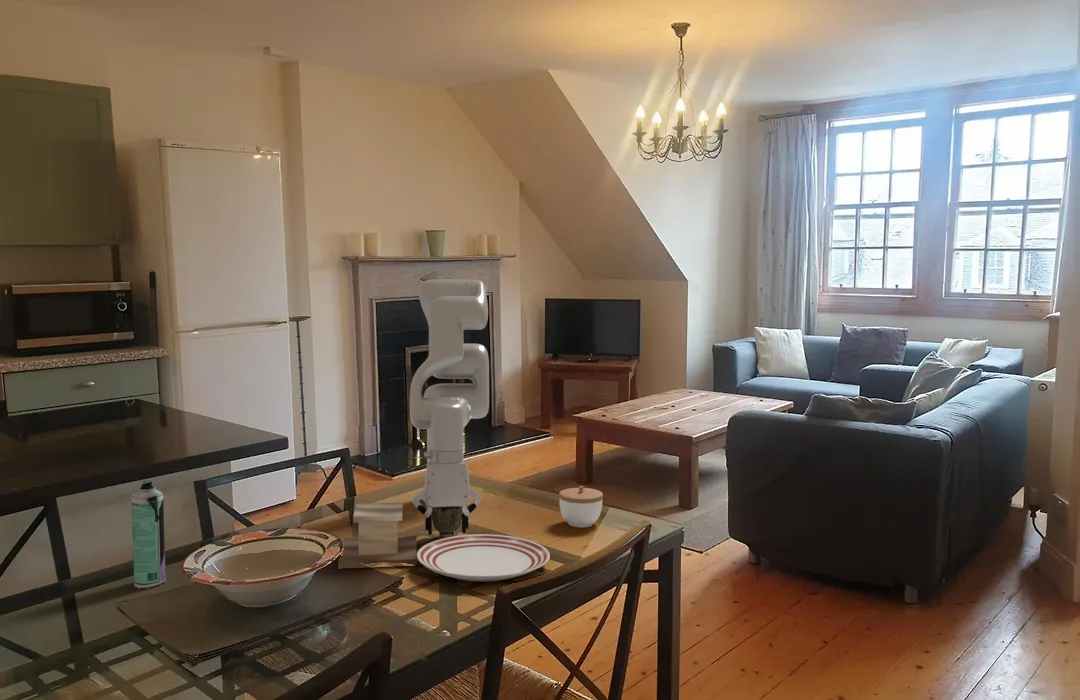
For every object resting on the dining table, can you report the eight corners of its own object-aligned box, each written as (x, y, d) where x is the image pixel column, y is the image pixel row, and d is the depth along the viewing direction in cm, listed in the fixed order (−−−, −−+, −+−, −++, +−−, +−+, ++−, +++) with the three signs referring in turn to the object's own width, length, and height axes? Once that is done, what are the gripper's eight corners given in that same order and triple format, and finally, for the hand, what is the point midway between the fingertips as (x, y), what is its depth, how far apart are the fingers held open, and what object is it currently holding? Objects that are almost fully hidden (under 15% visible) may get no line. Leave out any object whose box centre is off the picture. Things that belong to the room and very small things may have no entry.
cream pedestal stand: (343, 544, 179) (343, 500, 178) (416, 541, 181) (416, 498, 181) (337, 569, 163) (337, 521, 162) (416, 566, 166) (416, 518, 165)
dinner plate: (490, 538, 185) (490, 524, 185) (577, 568, 166) (577, 552, 166) (390, 566, 166) (390, 550, 166) (475, 604, 147) (475, 586, 147)
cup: (465, 533, 188) (465, 500, 187) (459, 543, 180) (459, 508, 180) (434, 532, 189) (434, 499, 188) (427, 542, 181) (427, 507, 181)
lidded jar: (611, 523, 197) (611, 486, 197) (584, 533, 189) (585, 494, 188) (576, 515, 204) (577, 479, 203) (549, 524, 196) (550, 486, 195)
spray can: (171, 580, 156) (169, 479, 155) (149, 590, 151) (147, 486, 150) (149, 576, 158) (147, 477, 156) (127, 586, 153) (124, 483, 151)
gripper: (408, 460, 178) (408, 539, 179) (486, 458, 181) (486, 536, 182) (408, 453, 185) (408, 529, 187) (483, 452, 188) (483, 526, 189)
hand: (446, 531), depth 184 cm, fingers open, 7 cm apart
